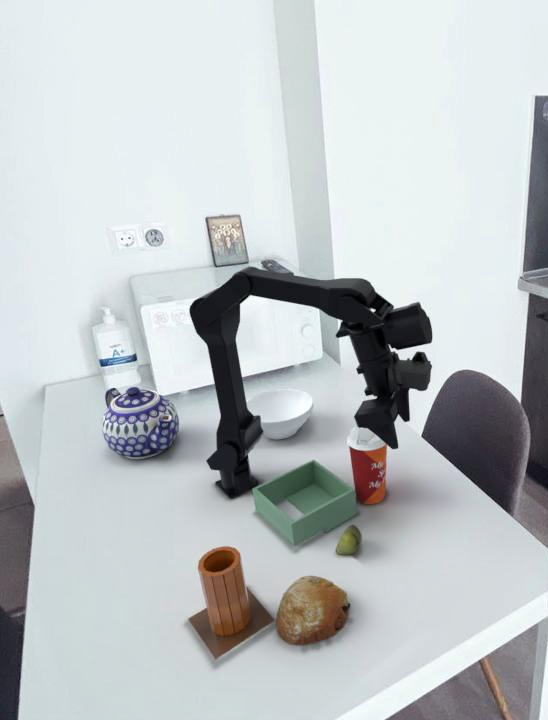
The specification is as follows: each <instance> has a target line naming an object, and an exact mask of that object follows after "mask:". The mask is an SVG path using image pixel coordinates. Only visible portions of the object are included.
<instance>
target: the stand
mask: <svg viewBox="0 0 548 720" xmlns="http://www.w3.org/2000/svg"><path fill="white" fill-rule="evenodd" d="M246 588H247V594H248V599H249V605H250V610H251V619H250V621H249V623H248V624H247V625H246V627H244V629H242V630H241V631H239V632H238V633H235V634H233V635H228V636H225V635H224V636H222V635H218V634H216V633H215V632H214V631H213V630H212V628H211V625H210V620H209V616H208V611H207V607H206V608H204V609H202V610H200V611H199V612H196V613H195V614H194V615H192V616H190V617H188V618H187V621H188V622H189V624H190V625H191V626H192V628H193V629H194V631H195V632H196V634H197V635H198V637H199V639H200V640H201V641H202V643H203V644H204V646H205V648H207V650H208V652H209V653H210V654H211V656H212V658H213V659H214V660H216V661H217V660H218V658H221V657H222V656H223V655H225V654H226V653H229V652H230V651H231V650H233V649H234V648H236V647H237V646H239V645H240V644H242V643H244V642H245V641H246V640H248V639H249V638H251V637H253V636H254V635H255V634H257V633H259V632H260V631H261V630H263V629H264V628H267V627H268V626H269V625H271V624H272V623H273V622H276V619H275V618H274V617H273V616H272V615H271V614H270V613H269V611H268V610H267V609H266V608H265V607H264V605H263V604H262V602H261V601H259V599H258V598H257V597H256V596H255V595H254V594H253V592H252V591H251V590H250V589H249V588H248V586H246Z"/></svg>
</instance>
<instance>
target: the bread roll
mask: <svg viewBox="0 0 548 720" xmlns="http://www.w3.org/2000/svg"><path fill="white" fill-rule="evenodd" d="M350 607H351V603H350V602H348V592H347V591H346V590H344V589H342V588H341V587H339V586H337V585H336V584H335V583H334V581H332V580H331V581H330V580H328V579H326V578H325V577H324V578H323V577H321V576H317V575H304V576H302V577H299V578H297V579H296V580H295V581H293V583H291V585H290V586H288V588H287V589H286V590H285V592H283V593H282V597H281V599H280V603H279V606H278V611H277V613H276V618H275V626H276V630H277V634H278V635H279V637H280V638H281V639H282V640H283V641H284V642H285V643H288V644H290V645H293V646H305V645H310V644H313V643H315V642H317V643H320V642H321V641H324V640H326V639H329V638H331V637H334V636H335V635H337V634H339V632H340V631H341V630H342V629H343V628H344V627H345V625H346V622H347V620H348V617H349V610H350Z"/></svg>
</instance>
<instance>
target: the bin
mask: <svg viewBox="0 0 548 720" xmlns="http://www.w3.org/2000/svg"><path fill="white" fill-rule="evenodd" d="M251 490H252V495H253V497H252V498H253V501H254V509H255V511H256V512H257V513H259V515H261V516H262V517H263V518H264V519H265V520H266V521H267V522H268V523H269V524H270V525H271V526H272V527H273V528H274V529H275V530H276V531H277V532H278V533H279V534H280V535H281V536H282V537H284V539H286V540H287V541H288V542H289V544H291V545H292V546H293V547H296V546H298V545H299V544H301V543H302V542H304V541H306V540H309V539H310V538H311V537H313V536H315V535H317V534H318V533H320V532H321V531H322V532H323V533H324V534H326V533H327V532H329V531H331V530H332V529H335V528H337V527H338V526H339V525H341V524H343V523H344V522H346V521H348V520H349V519H351V518H353V517H355V516H356V515H357V513H358V511H357V497H356V492H355V487H352V486H351V485H349V484H348V483H347V482H345V481H344V480H342V479H341V478H340V477H338V476H337V475H336V474H334V473H333V472H331V471H330V470H329V469H327V468H326V467H325V466H323V465H322V464H320V462H318V461H316V460H315V459H312V460H309V461H308V462H306V463H304V464H301V465H299V466H297V467H294V468H293V469H291V470H289V471H286V472H285V473H282V474H280V475H278V476H276V477H274V478H272V479H270V480H267V481H266V482H263V483H261V484H259V485H258V486H256V487H254V488H252V489H251ZM282 499H285V500H286V501H288V503H290V504H291V505H292V506H293V507H294V508H296V509H297V510H298V511H299V512H300V514H302V515H301V516H298V517H297V518H296V519H294V520H293V519H291V518H290V517H289V516H288V515H286V514H285V513H284V511H282V510H281V509H280V508H279V507H277V506H276V504H274V503H275V502H278V501H279V500H282Z"/></svg>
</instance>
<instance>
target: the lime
mask: <svg viewBox="0 0 548 720" xmlns="http://www.w3.org/2000/svg"><path fill="white" fill-rule="evenodd" d="M362 536H363V535H362V533H361V531H360V528H358V526H357V525H355V524H353V523H352V524H350V525H349V526H347V527H346V529H345V530H344V532H343V533H342V535H341V537H340V539H339V541H338V543H337V545H336V548H335V552H336V554H339V555H341V556H350V555H352V554H356V552H357V551H358V550H359V548H360V546H361V544H362V538H363V537H362Z"/></svg>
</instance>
